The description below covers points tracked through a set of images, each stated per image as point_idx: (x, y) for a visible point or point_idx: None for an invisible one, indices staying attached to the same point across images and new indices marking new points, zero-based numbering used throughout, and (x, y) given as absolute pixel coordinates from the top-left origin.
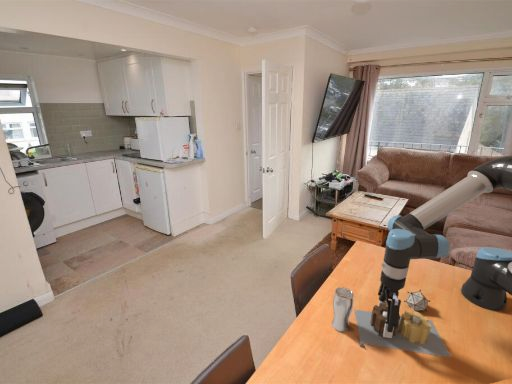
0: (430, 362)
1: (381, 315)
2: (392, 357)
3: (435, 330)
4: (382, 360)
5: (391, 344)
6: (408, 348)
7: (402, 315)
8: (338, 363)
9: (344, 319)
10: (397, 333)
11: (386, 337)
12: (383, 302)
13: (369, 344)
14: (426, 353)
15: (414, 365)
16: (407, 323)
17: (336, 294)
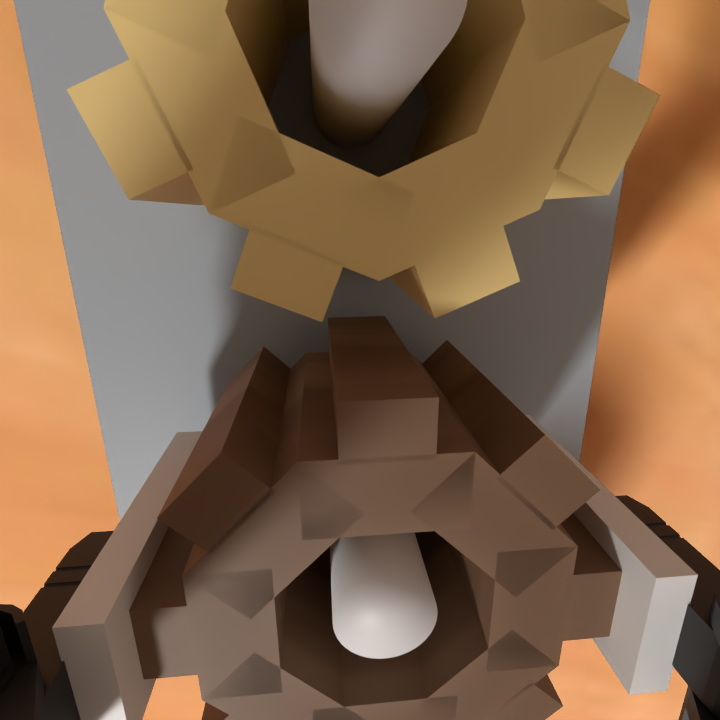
0: (669, 32)
1: (457, 691)
2: (622, 391)
3: None
4: (650, 469)
5: (546, 400)
6: (583, 241)
7: (296, 294)
8: (672, 711)
9: None
10: (391, 306)
11: None
12: (108, 688)
13: None
14: (640, 43)
15: (697, 221)
16: (511, 257)
17: None
